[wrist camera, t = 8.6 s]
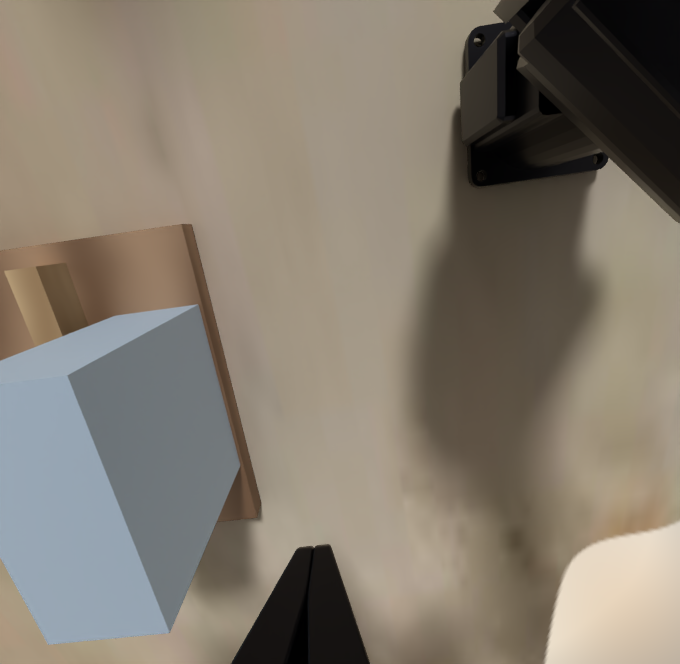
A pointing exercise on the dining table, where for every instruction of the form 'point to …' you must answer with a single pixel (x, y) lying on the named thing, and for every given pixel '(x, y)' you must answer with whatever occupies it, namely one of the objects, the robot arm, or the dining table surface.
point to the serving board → (117, 307)
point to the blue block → (112, 472)
